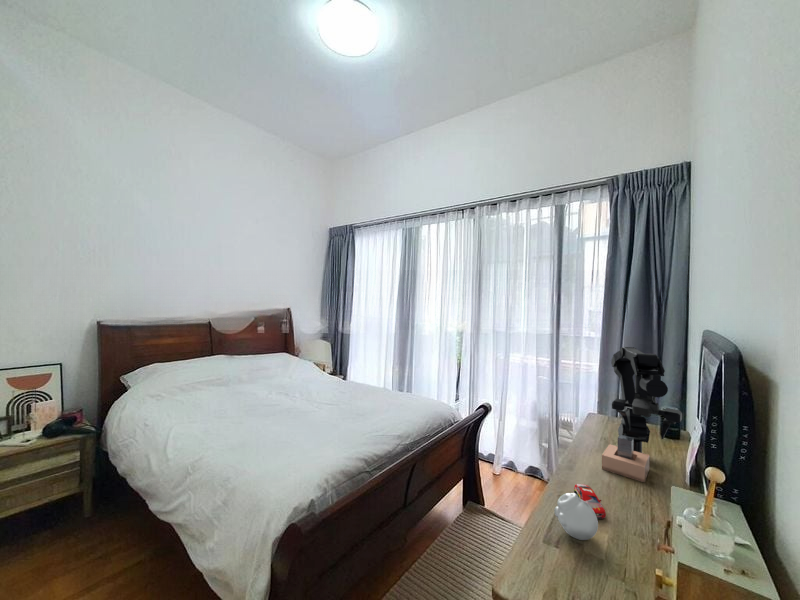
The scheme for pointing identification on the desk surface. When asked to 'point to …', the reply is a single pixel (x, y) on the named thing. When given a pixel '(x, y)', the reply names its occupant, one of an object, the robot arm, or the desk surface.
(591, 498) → the race car
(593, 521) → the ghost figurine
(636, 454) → the well
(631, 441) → the grey rectangular block
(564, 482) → the desk surface
